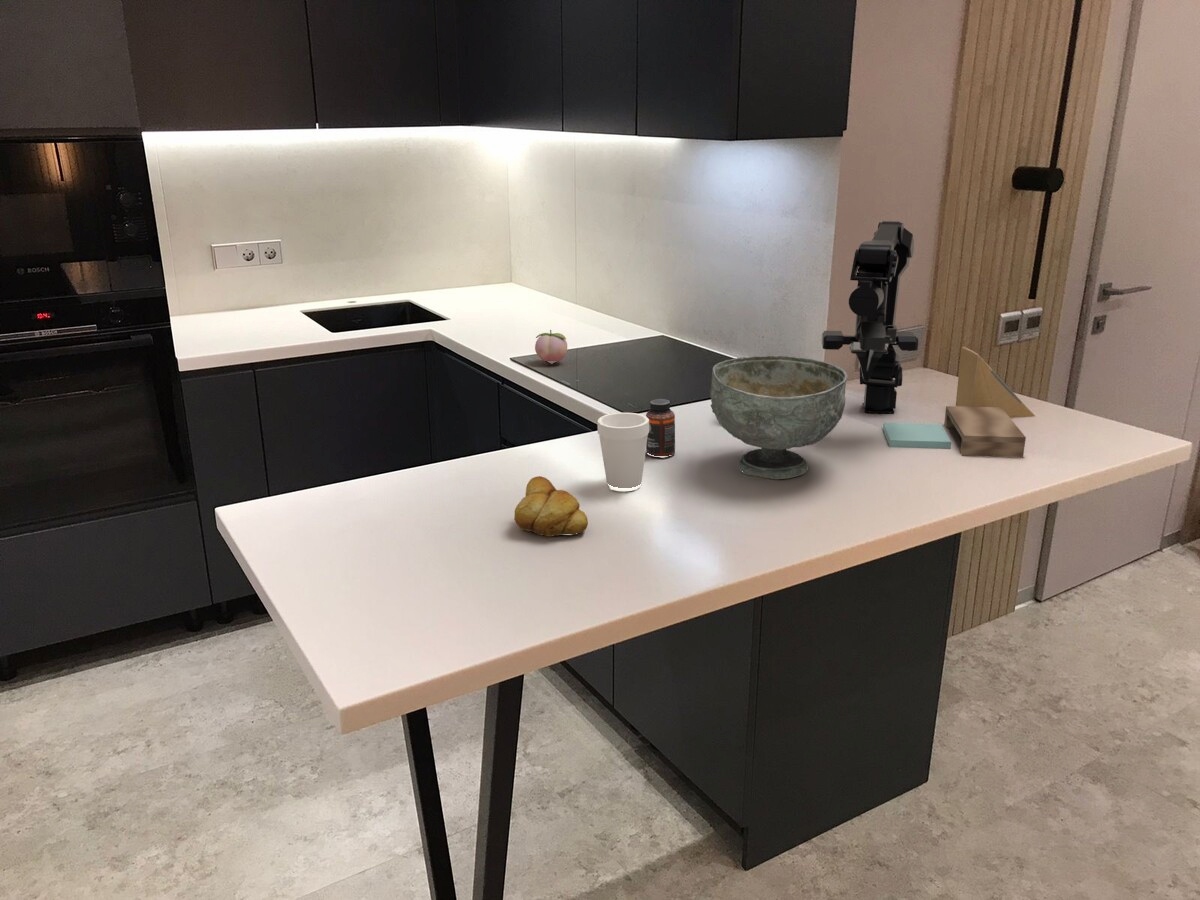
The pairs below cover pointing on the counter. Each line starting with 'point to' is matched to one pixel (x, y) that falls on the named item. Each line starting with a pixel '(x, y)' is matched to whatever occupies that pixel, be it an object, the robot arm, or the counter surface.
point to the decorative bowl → (777, 408)
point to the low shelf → (985, 431)
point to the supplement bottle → (661, 428)
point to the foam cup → (623, 447)
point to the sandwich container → (985, 387)
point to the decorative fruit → (551, 346)
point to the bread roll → (549, 510)
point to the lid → (916, 435)
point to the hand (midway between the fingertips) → (866, 380)
